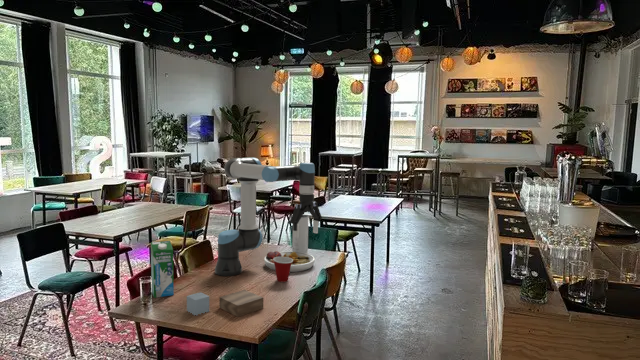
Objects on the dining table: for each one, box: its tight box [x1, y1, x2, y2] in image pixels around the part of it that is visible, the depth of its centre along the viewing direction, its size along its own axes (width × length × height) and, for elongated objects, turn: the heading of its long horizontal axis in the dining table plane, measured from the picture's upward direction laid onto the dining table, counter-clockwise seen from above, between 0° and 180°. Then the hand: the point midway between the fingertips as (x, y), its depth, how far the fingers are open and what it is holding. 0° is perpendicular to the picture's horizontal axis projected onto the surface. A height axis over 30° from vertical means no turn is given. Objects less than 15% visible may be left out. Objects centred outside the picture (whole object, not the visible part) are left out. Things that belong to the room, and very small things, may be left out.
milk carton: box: [150, 240, 175, 299], centre depth 215 cm, size 9×9×25 cm
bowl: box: [264, 250, 316, 273], centre depth 266 cm, size 30×30×8 cm
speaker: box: [291, 214, 310, 254], centre depth 292 cm, size 11×10×26 cm
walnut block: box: [218, 289, 264, 317], centre depth 200 cm, size 14×14×5 cm
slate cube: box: [186, 291, 210, 316], centre depth 195 cm, size 7×7×7 cm
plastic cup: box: [273, 257, 293, 283], centre depth 238 cm, size 11×11×12 cm
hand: (306, 235), depth 224 cm, fingers open, 13 cm apart
